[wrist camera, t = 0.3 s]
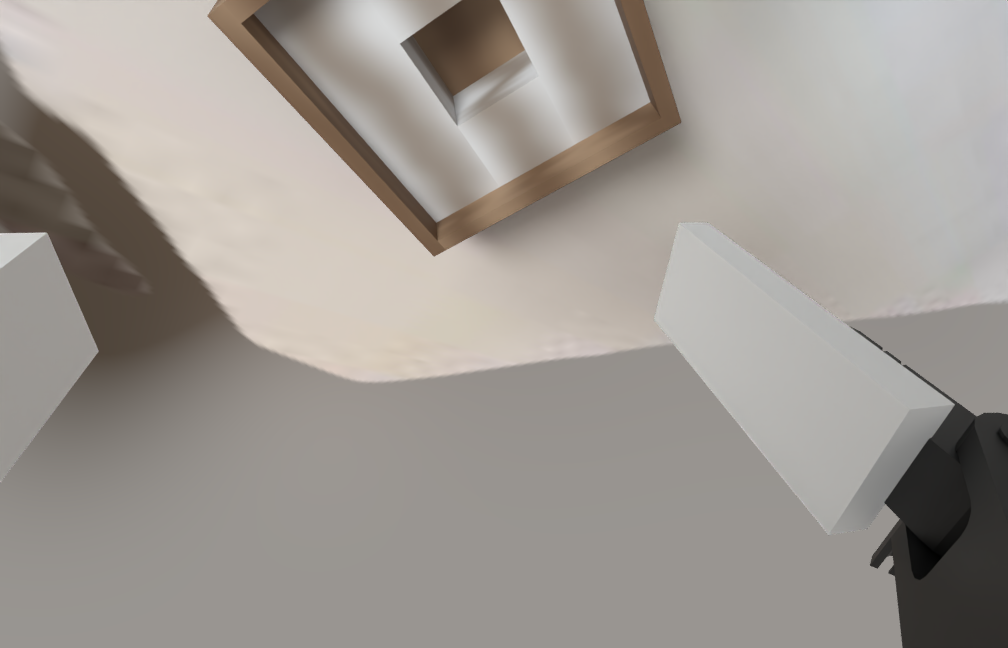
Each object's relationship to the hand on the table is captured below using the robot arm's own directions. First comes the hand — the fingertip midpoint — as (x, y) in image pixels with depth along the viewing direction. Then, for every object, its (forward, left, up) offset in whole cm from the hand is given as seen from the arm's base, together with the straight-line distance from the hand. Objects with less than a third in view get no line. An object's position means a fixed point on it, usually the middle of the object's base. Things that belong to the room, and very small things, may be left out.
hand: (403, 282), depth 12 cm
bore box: (-1, +5, -26) cm, 27 cm away
